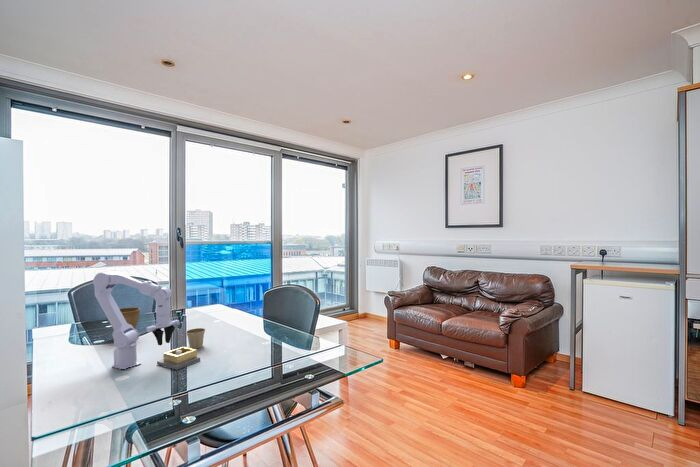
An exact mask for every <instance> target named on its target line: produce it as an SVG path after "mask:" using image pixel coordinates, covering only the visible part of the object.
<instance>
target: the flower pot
mask: <svg viewBox="0 0 700 467" xmlns="http://www.w3.org/2000/svg"><path fill="white" fill-rule="evenodd" d="M205 331H206V328H204V327H200V328H199V327H197V328H192V329H187V330H186V331H185V334H186V336H187V339H188V344H189V348H192V349H196V350H197V349H200V348H202V347H203V346H204V338H205V333H206V332H205Z"/></svg>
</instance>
